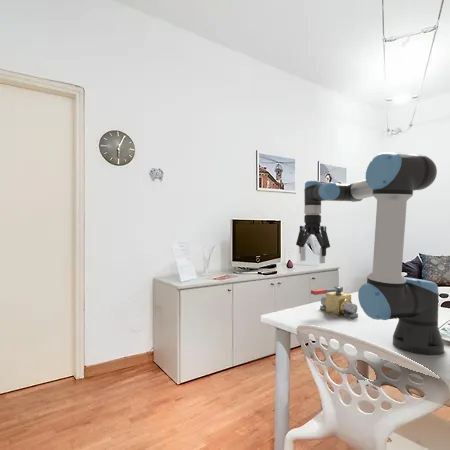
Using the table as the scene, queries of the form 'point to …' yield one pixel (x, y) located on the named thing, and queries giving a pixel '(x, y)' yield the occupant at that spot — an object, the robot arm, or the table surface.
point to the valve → (339, 304)
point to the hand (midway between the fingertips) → (312, 261)
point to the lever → (326, 290)
